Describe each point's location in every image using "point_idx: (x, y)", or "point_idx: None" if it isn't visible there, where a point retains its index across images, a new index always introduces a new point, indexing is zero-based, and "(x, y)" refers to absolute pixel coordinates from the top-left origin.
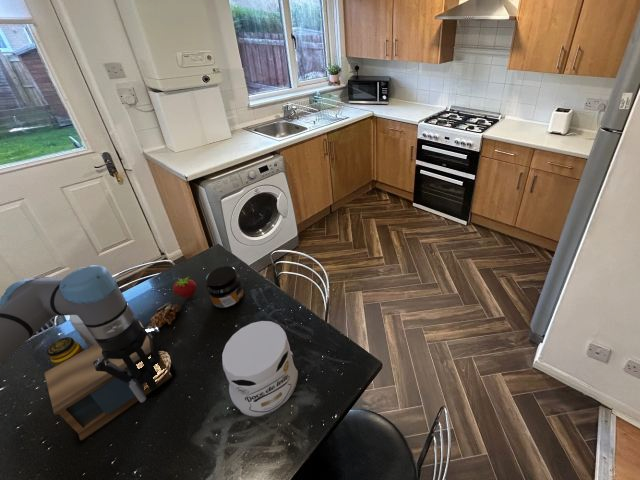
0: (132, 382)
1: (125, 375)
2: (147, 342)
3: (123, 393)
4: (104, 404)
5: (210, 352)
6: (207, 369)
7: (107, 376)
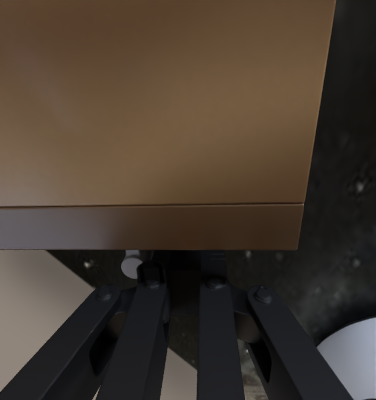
0: (135, 260)
1: (97, 389)
2: (284, 141)
3: None
4: None
5: (366, 168)
6: (320, 218)
7: (15, 231)
